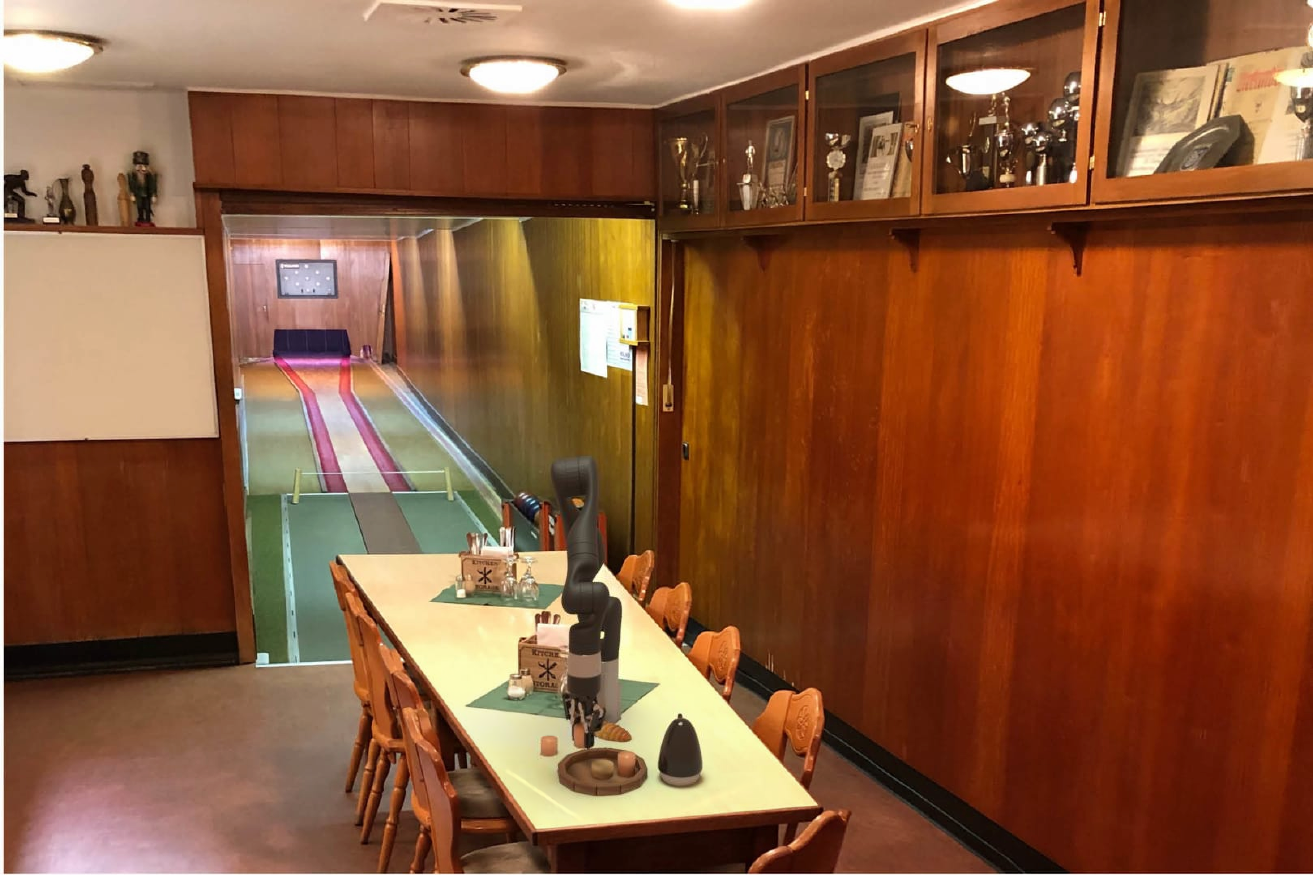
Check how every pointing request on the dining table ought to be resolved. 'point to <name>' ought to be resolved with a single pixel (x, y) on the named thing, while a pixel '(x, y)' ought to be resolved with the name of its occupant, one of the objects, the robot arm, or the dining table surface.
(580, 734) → the bead
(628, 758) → the bead
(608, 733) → the pastry
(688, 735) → the black tapered dome
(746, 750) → the dining table surface
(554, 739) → the bead
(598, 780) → the tray
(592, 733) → the robot arm
